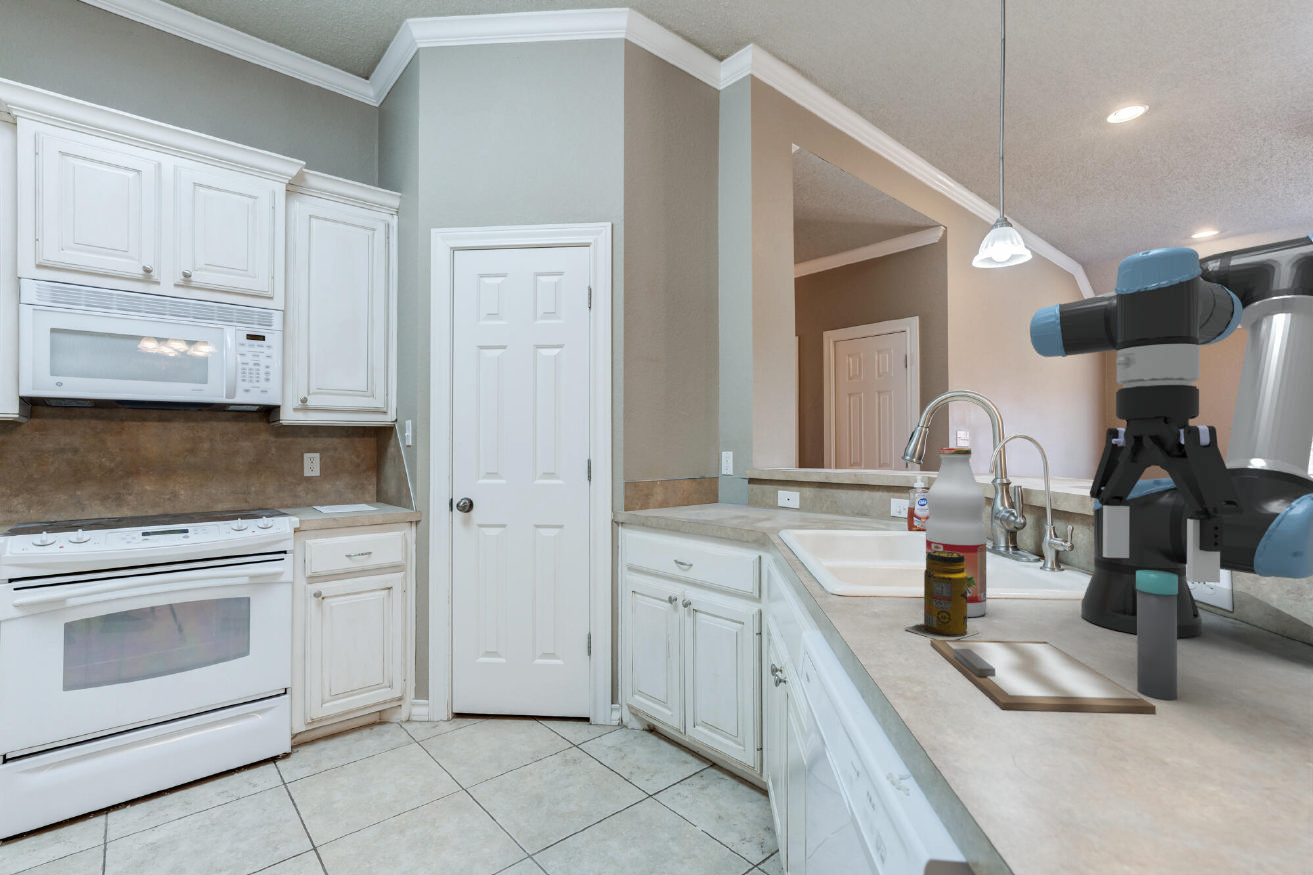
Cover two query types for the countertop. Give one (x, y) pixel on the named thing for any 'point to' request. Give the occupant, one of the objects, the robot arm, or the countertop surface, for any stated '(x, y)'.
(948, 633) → the condiment
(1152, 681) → the marker
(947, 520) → the fruit juice
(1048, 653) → the clipboard
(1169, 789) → the countertop surface
